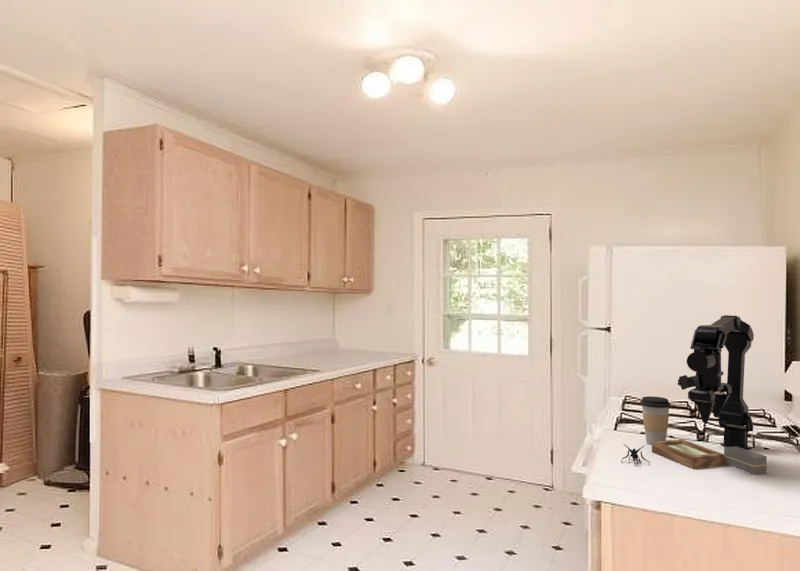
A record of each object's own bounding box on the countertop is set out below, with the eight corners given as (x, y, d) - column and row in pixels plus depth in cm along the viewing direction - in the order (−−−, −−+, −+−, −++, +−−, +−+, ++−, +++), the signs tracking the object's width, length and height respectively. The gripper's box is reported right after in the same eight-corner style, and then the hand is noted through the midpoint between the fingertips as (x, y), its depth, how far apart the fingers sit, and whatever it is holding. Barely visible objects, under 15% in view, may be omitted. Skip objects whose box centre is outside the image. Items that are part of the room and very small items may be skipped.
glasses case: (735, 462, 162) (735, 446, 162) (767, 474, 152) (766, 456, 152) (723, 464, 161) (723, 447, 161) (754, 475, 151) (754, 457, 151)
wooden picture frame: (682, 448, 175) (682, 439, 175) (725, 465, 159) (725, 454, 159) (651, 452, 172) (651, 442, 172) (692, 468, 156) (692, 457, 156)
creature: (650, 472, 157) (647, 457, 165) (651, 455, 156) (648, 441, 164) (621, 469, 160) (620, 455, 167) (621, 452, 159) (620, 439, 166)
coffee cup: (674, 448, 176) (674, 402, 176) (643, 446, 178) (643, 401, 178) (666, 440, 185) (666, 396, 185) (637, 438, 187) (637, 395, 187)
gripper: (693, 361, 174) (693, 410, 174) (669, 368, 161) (669, 420, 162) (732, 365, 166) (732, 416, 166) (710, 373, 153) (710, 427, 153)
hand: (710, 419), depth 162 cm, fingers open, 9 cm apart
